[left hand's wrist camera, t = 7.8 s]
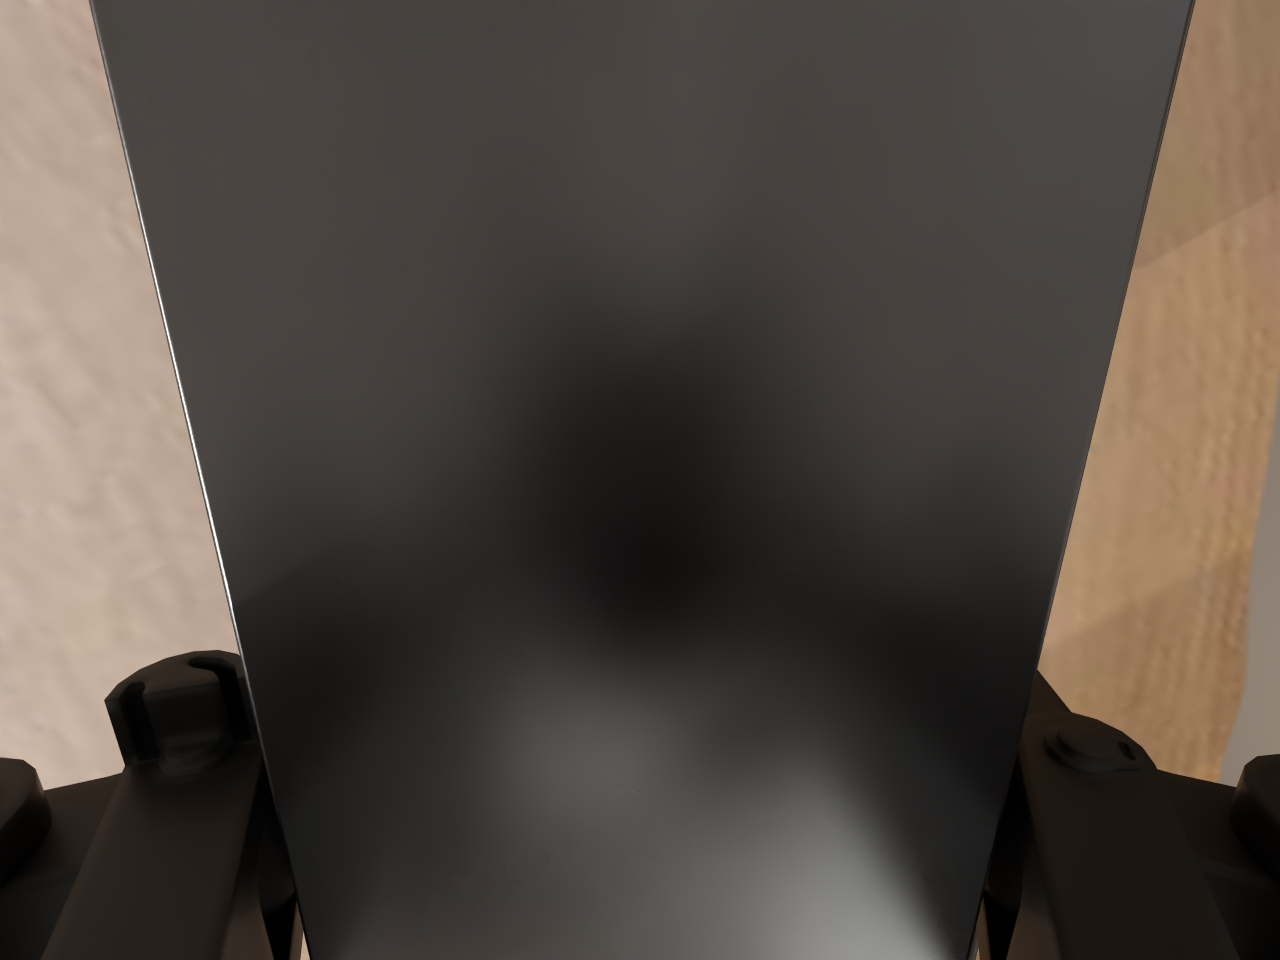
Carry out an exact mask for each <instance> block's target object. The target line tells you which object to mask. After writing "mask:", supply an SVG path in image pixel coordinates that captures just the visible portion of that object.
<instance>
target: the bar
mask: <svg viewBox="0 0 1280 960" xmlns="http://www.w3.org/2000/svg"><path fill="white" fill-rule="evenodd" d="M89 3H90V8H91V12H92V16H93V21H94V25H95V29H96V34H97V38H98V42H99V47H100V51H101V55H102V60H103V64H104V68H105V73H106V77H107V81H108V86H109V90H110V94H111V99H112V103H113V107H114V112H115V116H116V120H117V125H118V129H119V133H120V138H121V142H122V146H123V151H124V155H125V159H126V164H127V168H128V172H129V177H130V181H131V185H132V190H133V194H134V198H135V203H136V207H137V211H138V216H139V220H140V224H141V229H142V233H143V237H144V242H145V246H146V250H147V255H148V259H149V263H150V268H151V272H152V276H153V281H154V285H155V289H156V294H157V298H158V302H159V307H160V311H161V315H162V320H163V324H164V328H165V333H166V337H167V341H168V346H169V350H170V354H171V359H172V363H173V367H174V372H175V376H176V380H177V385H178V389H179V393H180V398H181V402H182V406H183V411H184V415H185V419H186V424H187V428H188V432H189V437H190V441H191V445H192V450H193V454H194V458H195V463H196V467H197V471H198V476H199V480H200V484H201V489H202V493H203V497H204V502H205V506H206V510H207V515H208V519H209V524H210V528H211V532H212V537H213V541H214V545H215V550H216V554H217V558H218V563H219V567H220V571H221V576H222V580H223V584H224V589H225V593H226V597H227V602H228V606H229V610H230V615H231V619H232V623H233V628H234V632H235V636H236V641H237V645H238V649H239V654H240V658H241V662H242V667H243V671H244V675H245V680H246V684H247V688H248V693H249V697H250V701H251V706H252V710H253V714H254V719H255V723H256V727H257V732H258V736H259V740H260V745H261V749H262V753H263V758H264V762H265V766H266V771H267V775H268V779H269V784H270V788H271V792H272V797H273V801H274V805H275V810H276V814H277V818H278V823H279V827H280V831H281V836H282V840H283V844H284V849H285V853H286V857H287V862H288V866H289V870H290V875H291V879H292V883H293V888H294V892H295V896H296V901H297V905H298V909H299V914H300V918H301V922H302V927H303V931H304V935H305V940H306V944H307V948H308V953H309V957H310V960H968V958H969V954H970V950H971V945H972V941H973V937H974V933H975V929H976V924H977V920H978V916H979V912H980V908H981V903H982V899H983V895H984V891H985V886H986V882H987V878H988V874H989V870H990V865H991V861H992V857H993V853H994V848H995V844H996V840H997V836H998V832H999V827H1000V823H1001V819H1002V815H1003V810H1004V806H1005V802H1006V798H1007V794H1008V789H1009V785H1010V781H1011V777H1012V772H1013V768H1014V764H1015V760H1016V756H1017V751H1018V747H1019V743H1020V739H1021V735H1022V730H1023V726H1024V722H1025V718H1026V713H1027V709H1028V705H1029V701H1030V697H1031V692H1032V688H1033V684H1034V680H1035V675H1036V671H1037V667H1038V663H1039V659H1040V654H1041V650H1042V646H1043V642H1044V637H1045V633H1046V629H1047V625H1048V621H1049V616H1050V612H1051V608H1052V604H1053V599H1054V595H1055V591H1056V587H1057V583H1058V578H1059V574H1060V570H1061V566H1062V561H1063V557H1064V553H1065V549H1066V545H1067V540H1068V536H1069V532H1070V528H1071V524H1072V519H1073V515H1074V511H1075V507H1076V502H1077V498H1078V494H1079V490H1080V486H1081V481H1082V477H1083V473H1084V469H1085V464H1086V460H1087V456H1088V452H1089V448H1090V443H1091V439H1092V435H1093V431H1094V426H1095V422H1096V418H1097V414H1098V410H1099V405H1100V401H1101V397H1102V393H1103V388H1104V384H1105V380H1106V376H1107V372H1108V367H1109V363H1110V359H1111V355H1112V350H1113V346H1114V342H1115V338H1116V334H1117V329H1118V325H1119V321H1120V317H1121V313H1122V308H1123V304H1124V300H1125V296H1126V291H1127V287H1128V283H1129V279H1130V275H1131V270H1132V266H1133V262H1134V258H1135V253H1136V249H1137V245H1138V241H1139V237H1140V232H1141V228H1142V224H1143V220H1144V215H1145V211H1146V207H1147V203H1148V199H1149V194H1150V190H1151V186H1152V182H1153V177H1154V173H1155V169H1156V165H1157V161H1158V156H1159V152H1160V148H1161V144H1162V139H1163V135H1164V131H1165V127H1166V123H1167V118H1168V114H1169V110H1170V106H1171V102H1172V97H1173V93H1174V89H1175V85H1176V80H1177V76H1178V72H1179V68H1180V64H1181V59H1182V55H1183V51H1184V47H1185V42H1186V38H1187V34H1188V30H1189V26H1190V21H1191V17H1192V13H1193V9H1194V4H1195V0H89Z"/></svg>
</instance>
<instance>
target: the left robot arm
mask: <svg viewBox="0 0 1280 960" xmlns="http://www.w3.org/2000/svg"><path fill="white" fill-rule="evenodd" d="M104 701H105V704H106V707H107V711H108V714H109V717H110V720H111V723H112V726H113V729H114V732H115V735H116V739H117V742H118V745H119V748H120V751H121V754H122V757H123V760H124V763H125V767H124V770H123V772H122V773H119V774H116V775H112V776H109V777H104V778H100V779H95V780H90V781H86V782H81V783H77V784H72V785H67V786H63V787H58V788H54V789H49V790H43V788H42V785H41V782H40V780H39V777H38V775H37V772H36V769H35V768H34V767H32V766H31V765H29V764H28V763H27V762H25V761H24V760H20V759H10V758H0V960H300V957H301V948H302V938H303V927H302V922H301V918H300V914H299V909H298V905H297V901H296V896H295V892H294V888H293V883H292V879H291V875H290V870H289V866H288V862H287V857H286V853H285V849H284V844H283V840H282V836H281V831H280V827H279V823H278V818H277V814H276V810H275V805H274V801H273V797H272V792H271V788H270V784H269V779H268V775H267V771H266V766H265V762H264V758H263V753H262V749H261V745H260V740H259V736H258V732H257V727H256V723H255V719H254V714H253V710H252V706H251V701H250V697H249V693H248V688H247V684H246V680H245V675H244V671H243V667H242V662H241V658H240V656H239V655H238V654H235V653H230V652H225V651H220V650H210V651H193V652H189V653H185V654H181V655H177V656H173V657H169V658H165V659H163V660H161V661H158V662H156V663H154V664H151V665H149V666H147V667H144V668H142V669H140V670H138V671H137V672H135V673H134V674H132V675H131V676H129V677H128V678H126V679H125V680H123V681H122V682H120V683H119V684H117V686H116V687H115V688H114V689H113V690H112V692H111V693H110V694H109V695H108V696H107V697H106V699H105V700H104ZM978 947H979V955H980V960H1280V754H1274V755H1265V756H1257V757H1255V758H1254V759H1253V760H1251V761H1250V762H1249V763H1247V764H1246V765H1245V766H1244V769H1243V772H1242V774H1241V777H1240V780H1239V782H1238V785H1237V787H1232V786H1228V785H1223V784H1219V783H1214V782H1209V781H1205V780H1200V779H1196V778H1191V777H1186V776H1182V775H1177V774H1172V773H1169V772H1165V771H1162V770H1158V769H1157V768H1156V766H1155V764H1154V763H1153V761H1152V760H1151V759H1150V757H1149V756H1148V754H1147V753H1146V752H1145V750H1144V749H1143V747H1141V746H1140V745H1139V744H1137V743H1136V742H1135V741H1134V740H1132V739H1131V738H1130V737H1128V736H1127V735H1126V734H1124V733H1123V732H1122V731H1120V730H1118V729H1116V728H1114V727H1112V726H1109V725H1107V724H1105V723H1103V722H1101V721H1099V720H1097V719H1094V718H1090V717H1087V716H1083V715H1079V714H1076V713H1072V712H1071V711H1070V710H1069V709H1068V707H1067V706H1066V705H1065V704H1064V702H1063V701H1062V700H1061V699H1060V697H1059V696H1058V695H1057V694H1056V692H1055V691H1054V690H1053V689H1052V687H1051V686H1050V685H1049V684H1048V682H1047V681H1046V680H1045V679H1044V677H1043V676H1042V675H1041V674H1040V672H1039V671H1038V670H1037V671H1036V675H1035V680H1034V684H1033V688H1032V692H1031V697H1030V701H1029V705H1028V709H1027V713H1026V718H1025V722H1024V726H1023V730H1022V735H1021V739H1020V743H1019V747H1018V751H1017V756H1016V760H1015V764H1014V768H1013V772H1012V777H1011V781H1010V785H1009V789H1008V794H1007V798H1006V802H1005V806H1004V810H1003V815H1002V819H1001V823H1000V827H999V832H998V836H997V840H996V844H995V848H994V853H993V857H992V861H991V865H990V870H989V874H988V878H987V882H986V886H985V891H984V895H983V899H982V903H981V908H980V912H979V916H978V920H977V924H976V929H975V933H974V937H973V941H972V945H971V950H970V954H969V958H968V960H976V955H977V951H978Z"/></svg>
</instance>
